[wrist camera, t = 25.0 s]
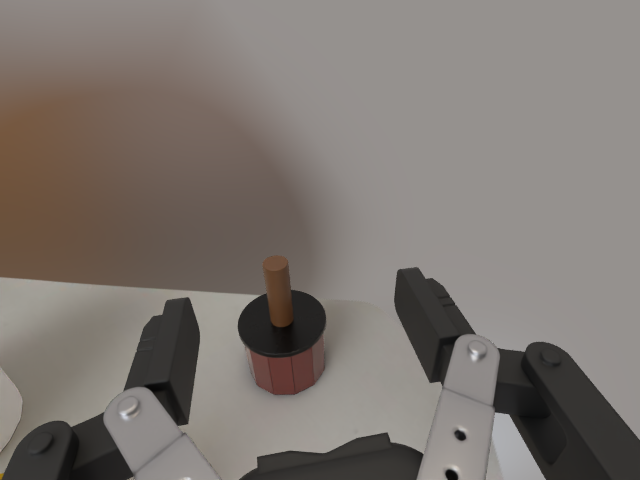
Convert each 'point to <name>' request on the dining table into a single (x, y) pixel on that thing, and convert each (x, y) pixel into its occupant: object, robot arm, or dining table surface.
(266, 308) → the lid
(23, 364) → the dining table surface
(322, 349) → the pot
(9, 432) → the canister
